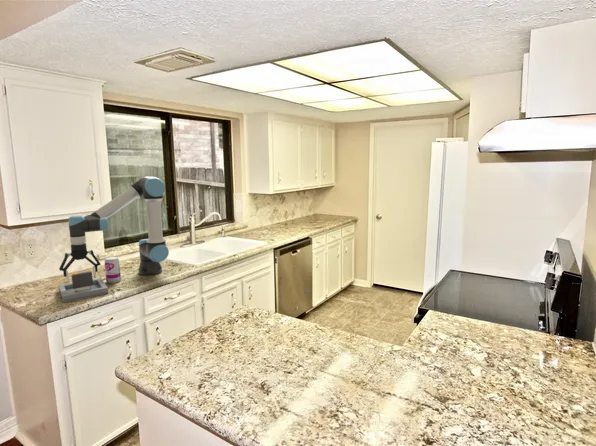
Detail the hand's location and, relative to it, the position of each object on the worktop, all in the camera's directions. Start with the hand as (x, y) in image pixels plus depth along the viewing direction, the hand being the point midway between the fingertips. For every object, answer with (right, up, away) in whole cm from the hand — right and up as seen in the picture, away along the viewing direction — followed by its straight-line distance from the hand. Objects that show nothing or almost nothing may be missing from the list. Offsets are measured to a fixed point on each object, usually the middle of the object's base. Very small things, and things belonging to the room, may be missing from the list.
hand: (81, 279), depth 210 cm
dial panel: (0, -8, +1) cm, 8 cm away
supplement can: (+8, -4, +21) cm, 23 cm away
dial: (0, -6, +1) cm, 6 cm away
